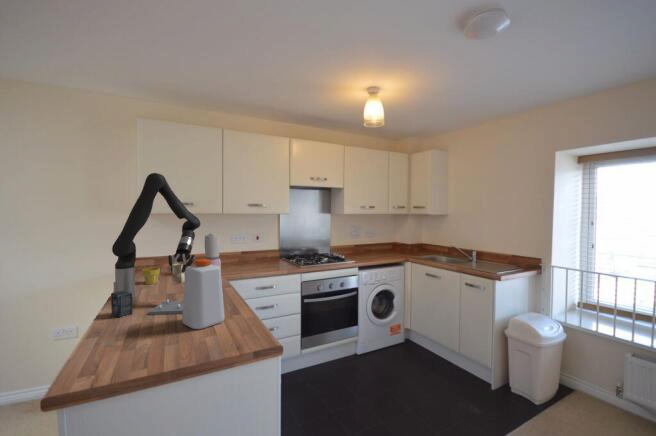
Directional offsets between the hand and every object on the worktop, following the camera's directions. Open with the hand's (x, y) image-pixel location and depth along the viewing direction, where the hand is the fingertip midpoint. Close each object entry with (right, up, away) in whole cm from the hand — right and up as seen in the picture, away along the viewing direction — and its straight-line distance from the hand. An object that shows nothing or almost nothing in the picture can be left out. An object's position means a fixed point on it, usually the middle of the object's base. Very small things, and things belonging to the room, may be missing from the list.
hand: (177, 271), depth 158 cm
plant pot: (-42, -17, +47) cm, 65 cm away
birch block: (0, -6, +2) cm, 6 cm away
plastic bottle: (+24, -18, -24) cm, 39 cm away
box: (-20, -18, -14) cm, 30 cm away
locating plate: (+1, -18, -6) cm, 19 cm away
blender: (-10, -16, +76) cm, 79 cm away
